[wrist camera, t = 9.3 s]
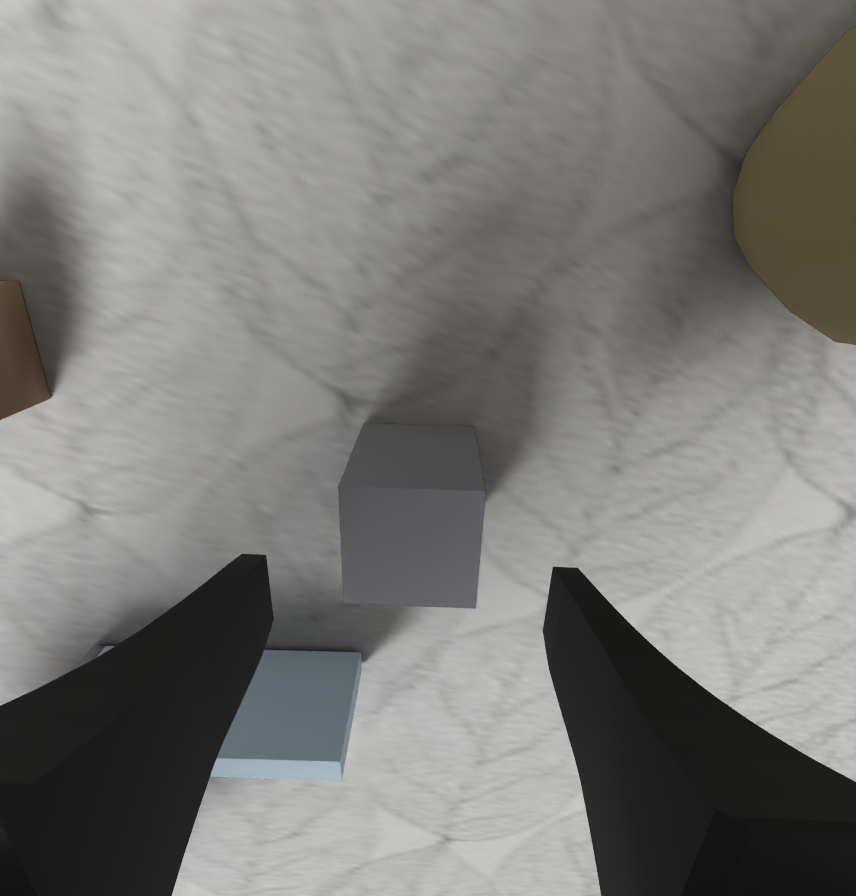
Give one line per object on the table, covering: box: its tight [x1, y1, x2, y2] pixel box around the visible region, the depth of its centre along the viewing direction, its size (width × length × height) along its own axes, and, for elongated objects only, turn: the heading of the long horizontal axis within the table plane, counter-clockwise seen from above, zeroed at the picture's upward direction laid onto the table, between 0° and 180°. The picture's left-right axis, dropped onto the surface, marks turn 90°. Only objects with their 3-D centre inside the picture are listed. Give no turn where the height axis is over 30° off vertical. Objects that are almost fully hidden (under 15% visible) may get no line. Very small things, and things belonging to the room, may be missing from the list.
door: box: [75, 646, 362, 780], centre depth 20 cm, size 12×2×5 cm, turn 89°
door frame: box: [0, 281, 51, 420], centre depth 18 cm, size 19×2×6 cm, turn 178°
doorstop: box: [338, 423, 486, 608], centre depth 17 cm, size 4×4×5 cm
